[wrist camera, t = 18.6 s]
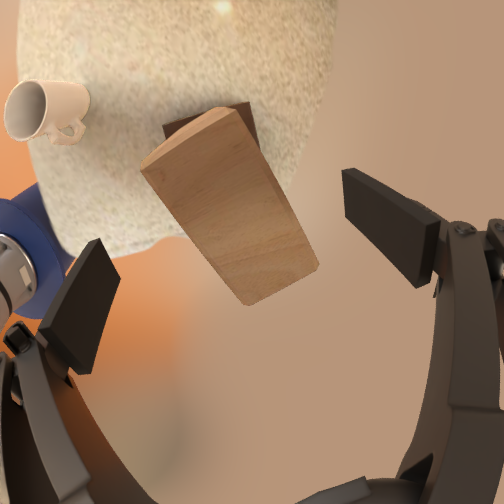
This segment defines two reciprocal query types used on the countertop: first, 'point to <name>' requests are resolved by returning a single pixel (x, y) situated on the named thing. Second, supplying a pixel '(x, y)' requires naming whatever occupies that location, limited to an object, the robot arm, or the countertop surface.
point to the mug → (46, 110)
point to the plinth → (241, 108)
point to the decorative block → (231, 205)
